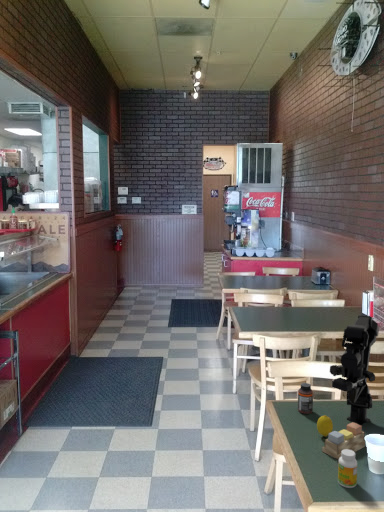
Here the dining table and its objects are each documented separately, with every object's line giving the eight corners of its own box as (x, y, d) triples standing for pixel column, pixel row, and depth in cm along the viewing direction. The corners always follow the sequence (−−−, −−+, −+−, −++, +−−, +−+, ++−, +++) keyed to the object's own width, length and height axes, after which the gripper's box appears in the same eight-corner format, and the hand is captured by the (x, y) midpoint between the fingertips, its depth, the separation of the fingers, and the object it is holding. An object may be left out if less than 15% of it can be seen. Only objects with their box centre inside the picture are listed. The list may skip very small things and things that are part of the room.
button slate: (334, 441, 160) (334, 430, 160) (343, 445, 157) (344, 434, 157) (328, 444, 158) (328, 433, 158) (337, 449, 155) (337, 437, 155)
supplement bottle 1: (300, 407, 195) (300, 380, 194) (314, 410, 192) (315, 383, 191) (295, 412, 190) (296, 385, 189) (310, 415, 187) (310, 388, 186)
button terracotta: (352, 432, 167) (352, 422, 166) (361, 436, 164) (361, 425, 163) (346, 435, 164) (346, 424, 164) (355, 439, 162) (355, 428, 161)
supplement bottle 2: (334, 483, 141) (335, 452, 140) (343, 475, 145) (344, 446, 144) (351, 490, 137) (352, 459, 136) (359, 483, 141) (361, 452, 140)
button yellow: (343, 440, 164) (343, 429, 163) (352, 444, 161) (352, 433, 160) (337, 443, 161) (337, 432, 161) (346, 447, 159) (346, 436, 158)
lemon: (329, 432, 172) (330, 412, 172) (334, 440, 167) (335, 418, 166) (314, 433, 172) (315, 412, 171) (319, 440, 167) (319, 419, 166)
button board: (349, 437, 169) (349, 425, 168) (366, 445, 163) (367, 433, 163) (322, 451, 159) (322, 438, 159) (339, 460, 154) (340, 447, 153)
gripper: (350, 350, 181) (348, 389, 182) (319, 360, 169) (318, 401, 171) (376, 358, 172) (374, 399, 173) (346, 368, 160) (345, 412, 162)
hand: (353, 402), depth 170 cm, fingers closed
